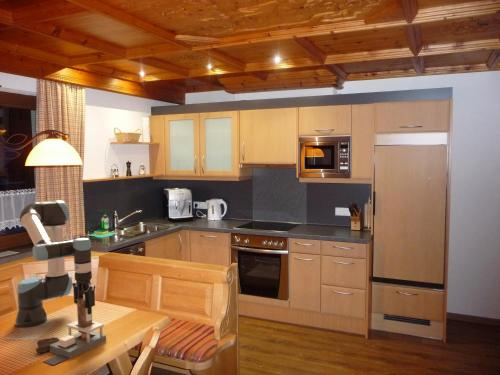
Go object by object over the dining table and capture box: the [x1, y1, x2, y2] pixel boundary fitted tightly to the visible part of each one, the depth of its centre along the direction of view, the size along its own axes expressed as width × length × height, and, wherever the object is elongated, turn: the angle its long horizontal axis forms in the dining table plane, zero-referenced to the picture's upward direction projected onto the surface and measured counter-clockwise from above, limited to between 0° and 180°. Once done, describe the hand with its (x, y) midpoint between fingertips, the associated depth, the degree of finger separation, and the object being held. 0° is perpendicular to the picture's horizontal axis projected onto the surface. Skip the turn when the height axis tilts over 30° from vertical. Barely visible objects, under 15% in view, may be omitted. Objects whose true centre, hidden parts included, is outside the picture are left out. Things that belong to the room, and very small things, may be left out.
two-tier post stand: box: [49, 320, 107, 359], centre depth 194 cm, size 15×20×9 cm
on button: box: [58, 334, 75, 348], centre depth 189 cm, size 4×5×3 cm
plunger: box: [82, 333, 90, 341], centre depth 198 cm, size 4×4×4 cm
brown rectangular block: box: [76, 295, 93, 334], centre depth 197 cm, size 4×4×16 cm
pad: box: [43, 354, 69, 367], centre depth 181 cm, size 7×7×1 cm
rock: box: [35, 336, 60, 355], centre depth 193 cm, size 11×10×4 cm
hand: (85, 319), depth 197 cm, fingers closed on brown rectangular block, 4 cm apart
